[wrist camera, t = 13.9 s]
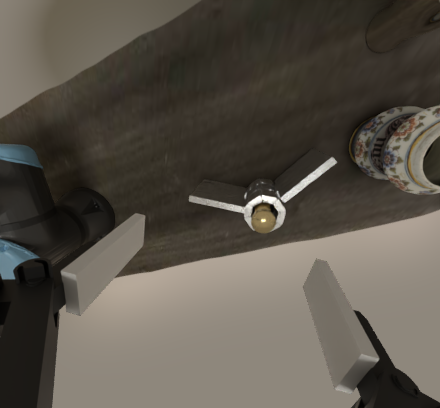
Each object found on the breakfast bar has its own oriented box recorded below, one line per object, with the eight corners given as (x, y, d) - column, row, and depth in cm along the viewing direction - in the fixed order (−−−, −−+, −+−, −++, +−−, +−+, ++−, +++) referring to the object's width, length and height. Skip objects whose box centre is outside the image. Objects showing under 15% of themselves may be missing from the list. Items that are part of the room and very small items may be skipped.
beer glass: (382, 65, 36) (463, 28, 22) (353, 38, 35) (417, -17, 21) (420, 23, 33) (540, -50, 19) (389, -7, 32) (490, -104, 18)
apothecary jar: (371, 184, 43) (444, 222, 26) (329, 148, 42) (378, 164, 25) (427, 135, 38) (558, 145, 22) (382, 94, 37) (484, 70, 21)
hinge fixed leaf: (202, 194, 50) (187, 215, 39) (206, 167, 47) (191, 180, 36) (273, 210, 48) (278, 235, 37) (281, 182, 46) (289, 200, 35)
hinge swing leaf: (260, 213, 49) (262, 238, 38) (240, 192, 48) (236, 213, 37) (324, 162, 42) (348, 175, 32) (303, 137, 41) (320, 142, 31)
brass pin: (251, 199, 48) (249, 230, 35) (254, 183, 47) (254, 209, 33) (267, 202, 48) (272, 235, 34) (272, 186, 46) (278, 214, 33)
